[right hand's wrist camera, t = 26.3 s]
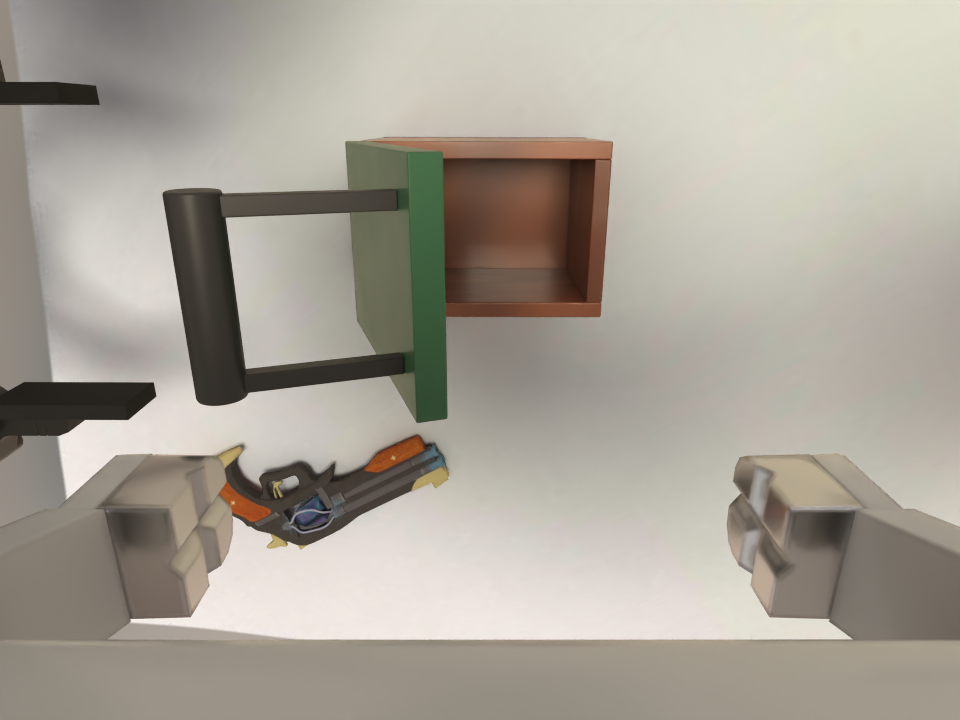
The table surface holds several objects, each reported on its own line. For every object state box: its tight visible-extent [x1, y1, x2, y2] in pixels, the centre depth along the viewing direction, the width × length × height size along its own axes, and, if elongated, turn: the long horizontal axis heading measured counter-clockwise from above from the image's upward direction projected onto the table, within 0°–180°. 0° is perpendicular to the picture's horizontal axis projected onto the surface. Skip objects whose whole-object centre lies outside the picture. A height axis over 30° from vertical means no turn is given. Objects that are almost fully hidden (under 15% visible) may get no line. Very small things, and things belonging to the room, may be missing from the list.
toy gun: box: [218, 436, 449, 549], centre depth 51 cm, size 3×19×10 cm
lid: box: [163, 141, 447, 423], centre depth 27 cm, size 14×10×9 cm
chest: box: [364, 137, 613, 317], centre depth 40 cm, size 13×10×10 cm
